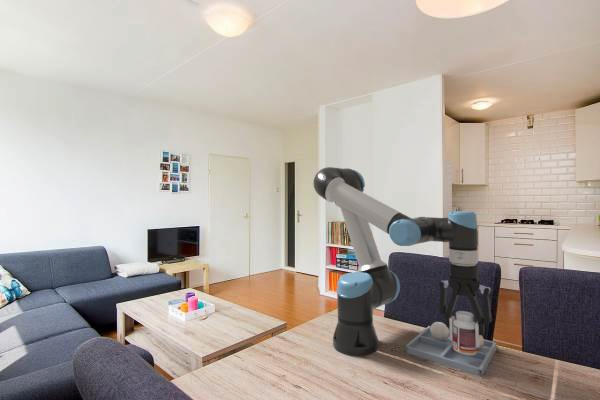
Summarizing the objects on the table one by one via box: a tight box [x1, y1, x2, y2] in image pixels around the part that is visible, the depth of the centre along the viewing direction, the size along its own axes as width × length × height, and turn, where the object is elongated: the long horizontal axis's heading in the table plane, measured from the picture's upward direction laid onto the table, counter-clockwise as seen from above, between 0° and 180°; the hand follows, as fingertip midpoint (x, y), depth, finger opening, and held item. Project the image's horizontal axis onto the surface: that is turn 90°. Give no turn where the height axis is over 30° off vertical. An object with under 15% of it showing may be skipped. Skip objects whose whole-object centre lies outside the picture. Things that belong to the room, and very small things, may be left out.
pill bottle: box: [453, 310, 477, 355], centre depth 93 cm, size 6×6×11 cm
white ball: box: [430, 321, 450, 341], centre depth 107 cm, size 6×6×6 cm
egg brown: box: [477, 335, 485, 350], centre depth 101 cm, size 6×6×6 cm
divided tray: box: [404, 325, 498, 378], centre depth 100 cm, size 21×21×3 cm
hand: (465, 341), depth 93 cm, fingers closed on pill bottle, 6 cm apart
